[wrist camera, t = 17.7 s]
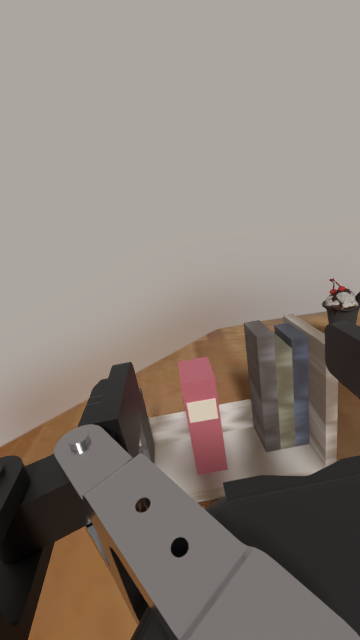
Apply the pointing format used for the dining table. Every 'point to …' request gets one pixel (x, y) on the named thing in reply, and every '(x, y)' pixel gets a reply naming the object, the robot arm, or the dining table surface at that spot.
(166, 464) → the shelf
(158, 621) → the robot arm
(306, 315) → the dining table surface
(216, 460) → the book
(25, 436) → the dining table surface
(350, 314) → the sundae
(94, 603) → the dining table surface
